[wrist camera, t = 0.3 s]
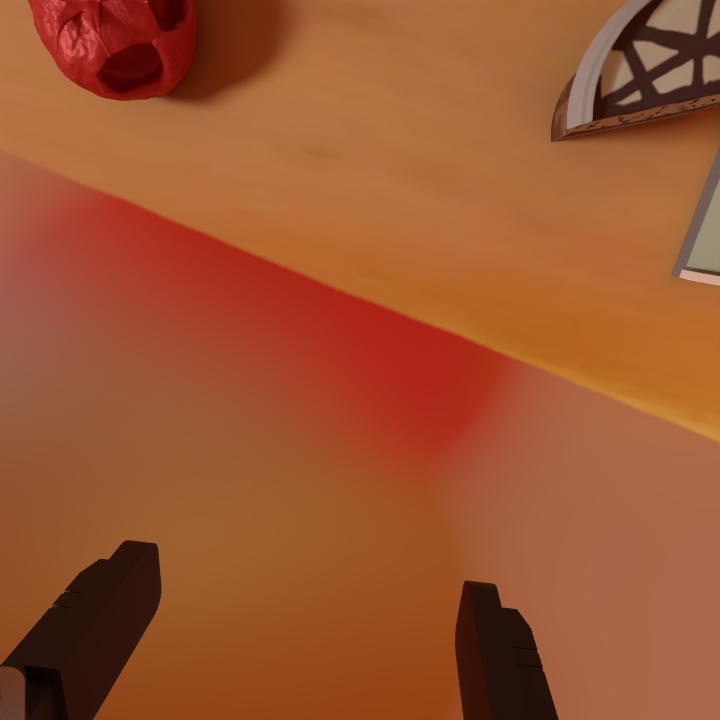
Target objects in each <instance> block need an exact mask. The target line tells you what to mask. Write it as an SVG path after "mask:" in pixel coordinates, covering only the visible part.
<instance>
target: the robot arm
mask: <svg viewBox="0 0 720 720" xmlns="http://www.w3.org/2000/svg"><path fill="white" fill-rule="evenodd" d="M160 598H161V577H160V565H159V553H158V547H157V545H156V544H155V543H148V542H139V541H131V540H127V541H124V542H123V543H122V544H121V545H120V546H119V548H118V549H117V550H116V551H115V553H114V554H113V555H112V556H111V557H110V559H109V560H106V559H99V560H98V561H97V562H95V563H93V564H92V565H90V566H89V567H87V568H86V569H85V570H83V571H82V572H80V573H79V574H78V576H77V577H76V578H75V579H74V580H73V581H72V582H71V584H70V585H69V586H68V587H67V588H66V590H65V592H64V594H61V595H60V596H59V598H58V599H57V600H56V601H55V602H54V603H53V606H52V608H49V609H48V611H47V612H46V613H45V614H44V615H43V616H42V618H41V619H40V620H39V621H38V622H37V623H36V625H35V626H34V627H33V628H32V629H31V630H30V632H29V633H28V634H27V635H26V636H25V637H24V639H23V640H22V641H21V642H20V643H19V644H18V646H17V647H16V648H15V649H14V650H13V651H12V653H11V654H10V655H9V656H8V657H7V658H6V660H5V661H4V662H3V663H2V664H1V665H0V720H93V719H94V717H95V715H96V713H97V712H98V710H99V708H100V707H101V705H102V703H103V702H104V700H105V698H106V697H107V695H108V693H109V691H110V690H111V688H112V687H113V685H114V683H115V681H116V680H117V678H118V676H119V675H120V673H121V671H122V669H123V668H124V666H125V664H126V662H127V661H128V659H129V658H130V656H131V654H132V652H133V651H134V649H135V647H136V646H137V644H138V642H139V641H140V639H141V637H142V636H143V634H144V632H145V630H146V629H147V627H148V625H149V624H150V622H151V620H152V619H153V617H154V615H155V613H156V611H157V608H158V605H159V602H160ZM455 652H456V661H457V669H458V678H459V686H460V693H461V702H462V711H463V719H464V720H559V719H558V716H557V713H556V709H555V706H554V703H553V700H552V696H551V693H550V690H549V686H548V683H547V680H546V676H545V673H544V672H543V667H542V663H541V660H540V657H539V654H538V653H537V647H536V643H535V640H534V637H533V634H532V630H531V628H530V627H529V625H528V624H527V622H526V621H525V620H524V618H523V617H522V616H521V614H520V613H519V612H518V610H517V609H510V608H502V607H501V603H500V598H499V594H498V591H497V587H496V585H495V584H492V583H483V582H475V581H465V582H464V585H463V590H462V595H461V601H460V606H459V612H458V617H457V623H456V631H455Z"/></svg>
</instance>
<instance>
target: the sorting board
mask: <svg viewBox="0 0 720 720" xmlns="http://www.w3.org/2000/svg"><path fill="white" fill-rule="evenodd" d="M672 276H676V277H680V278H683V279H687V280H691V281H697V282H702V283H708V284H714V285H719V286H720V148H719V151H718V154H717V156H716V159H715V162H714V164H713V167H712V170H711V172H710V175H709V178H708V180H707V183H706V185H705V188H704V191H703V193H702V196H701V199H700V201H699V204H698V207H697V209H696V212H695V215H694V217H693V220H692V223H691V225H690V228H689V231H688V233H687V236H686V239H685V241H684V244H683V247H682V249H681V252H680V255H679V257H678V260H677V262H676V265H675V268H674V270H673V273H672Z"/></svg>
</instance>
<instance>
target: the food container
mask: <svg viewBox="0 0 720 720" xmlns="http://www.w3.org/2000/svg"><path fill="white" fill-rule="evenodd" d="M719 105H720V0H629V1H627V2H626V3H625V4H624V5H623V6H622V7H621V8H620V9H619V10H618V11H617V12H616V13H615V14H613V15H612V16H611V18H610V19H609V20H608V21H607V23H606V24H605V25H604V26H603V27H602V29H601V30H600V31H599V32H598V33H597V35H596V37H595V38H594V40H593V41H592V43H591V45H590V46H589V48H588V49H587V51H586V53H585V55H584V57H583V59H582V61H581V64H580V66H579V68H578V70H577V72H576V73H575V75H574V76H573V77H572V78H571V80H570V81H569V82H568V84H567V85H566V87H565V89H564V90H563V92H562V94H561V96H560V98H559V100H558V103H557V105H556V108H555V112H554V115H553V120H552V127H551V142H553V141H558V140H563V139H568V138H573V137H578V136H582V135H587V134H592V133H597V132H602V131H607V130H612V129H617V128H622V127H627V126H632V125H637V124H642V123H647V122H651V121H656V120H661V119H666V118H671V117H676V116H681V115H686V114H691V113H695V112H698V111H702V110H705V109H708V108H712V107H715V106H719Z"/></svg>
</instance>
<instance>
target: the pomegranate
mask: <svg viewBox="0 0 720 720" xmlns="http://www.w3.org/2000/svg"><path fill="white" fill-rule="evenodd" d="M28 2H29V4H30V6H31V9H32V12H33V18H34V25H35V28H36V30H37V32H38V34H39V36H40V38H41V41H42V42H43V44H44V45H45V47H46V49H47V50H48V51H49V52H50V54H51V55H52V57H53V59H54V60H55V63H56V64H57V66H58V68H59V69H60V70H61V71H62V72H63V74H64V75H65V76H66V77H67V78H69V79H70V80H71V81H73V82H74V83H75V84H77V85H78V86H80V87H82V88H84V89H86V90H88V91H90V92H92V93H94V94H96V95H97V96H100V97H103V98H108V99H113V100H119V101H129V100H143V99H149V98H152V97H157V96H163V95H165V94H166V93H169V92H170V91H172V90H173V89H174V88H175V87H176V86H177V85H178V84H179V83H180V81H181V80H182V79H183V78H184V76H185V74H186V73H187V72H188V70H189V68H190V66H191V63H192V61H193V57H194V53H195V48H196V41H197V15H196V8H195V4H194V1H193V0H28Z"/></svg>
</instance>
